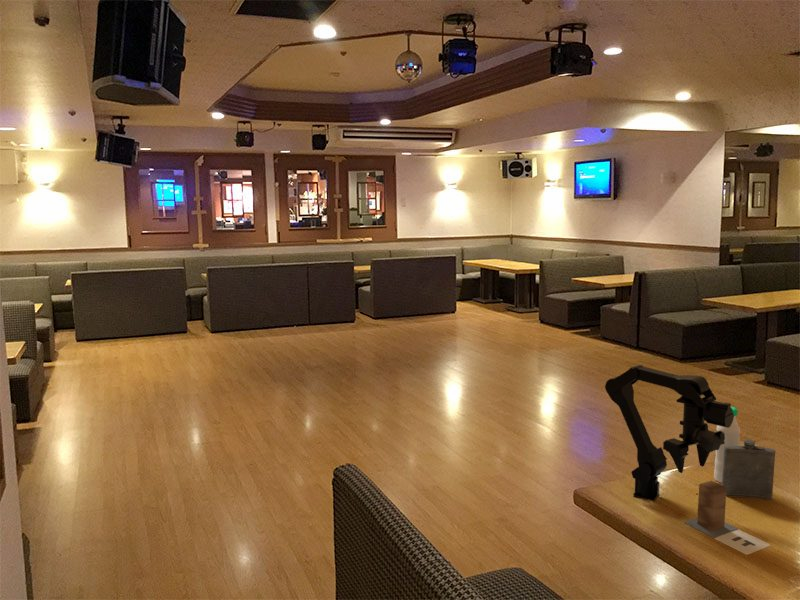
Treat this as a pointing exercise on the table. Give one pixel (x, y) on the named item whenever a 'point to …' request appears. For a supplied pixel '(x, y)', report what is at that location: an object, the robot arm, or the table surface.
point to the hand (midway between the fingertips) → (691, 469)
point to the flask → (748, 471)
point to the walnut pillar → (711, 505)
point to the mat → (714, 534)
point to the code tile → (742, 541)
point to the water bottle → (730, 440)
